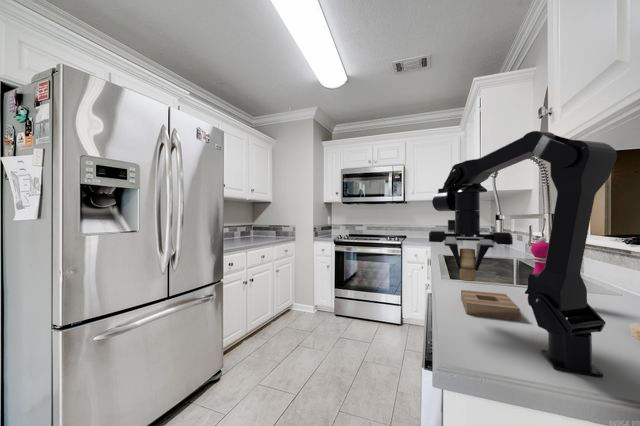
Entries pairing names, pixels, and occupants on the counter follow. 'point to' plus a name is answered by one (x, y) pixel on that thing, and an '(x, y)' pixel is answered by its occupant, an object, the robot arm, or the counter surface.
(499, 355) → the counter surface
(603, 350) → the counter surface
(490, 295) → the board
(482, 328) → the counter surface
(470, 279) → the peg
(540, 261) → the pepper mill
